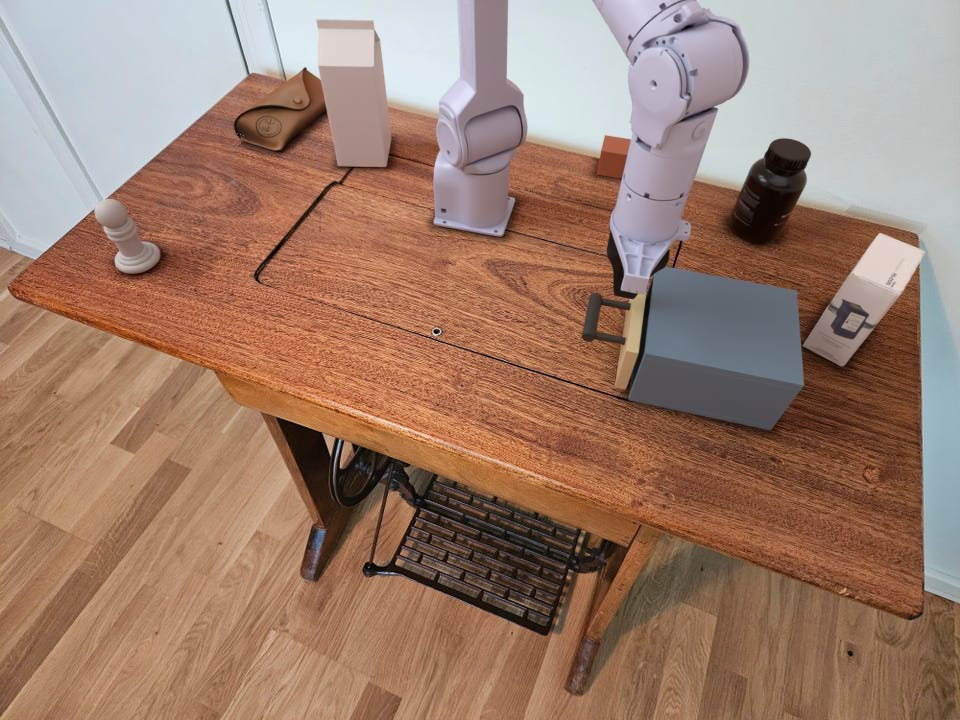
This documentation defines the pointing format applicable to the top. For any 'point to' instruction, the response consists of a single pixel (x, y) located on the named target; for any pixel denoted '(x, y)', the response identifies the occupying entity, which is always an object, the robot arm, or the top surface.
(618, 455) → the top surface
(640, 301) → the drawer
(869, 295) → the ink box
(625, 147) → the block
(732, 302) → the cabinet
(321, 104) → the sunglasses case
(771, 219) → the supplement bottle
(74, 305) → the top surface
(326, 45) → the milk carton
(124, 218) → the chess piece
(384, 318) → the top surface
